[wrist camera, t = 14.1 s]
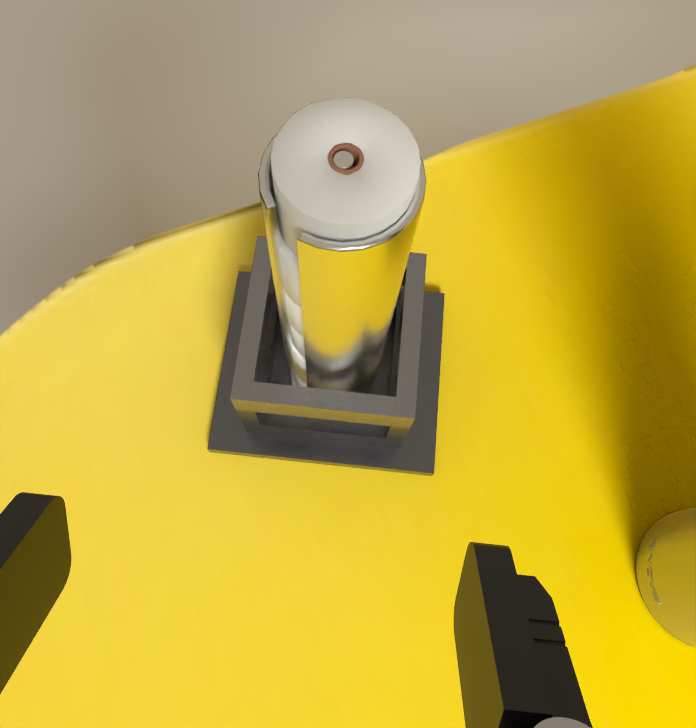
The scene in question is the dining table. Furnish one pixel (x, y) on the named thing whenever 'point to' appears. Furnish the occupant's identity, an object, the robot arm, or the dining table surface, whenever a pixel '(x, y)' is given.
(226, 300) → the dining table surface
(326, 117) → the silver long cylinder
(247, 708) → the dining table surface
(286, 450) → the grey square holder
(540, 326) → the dining table surface
